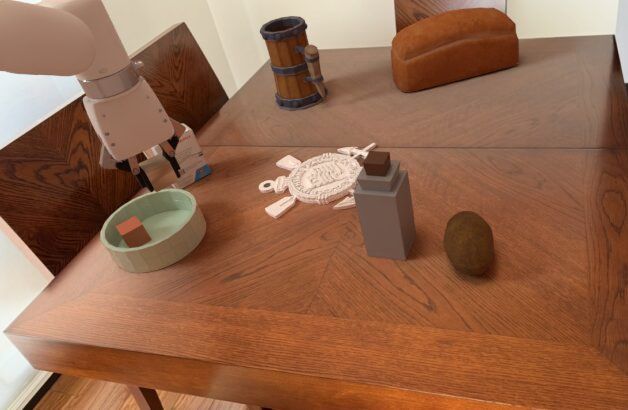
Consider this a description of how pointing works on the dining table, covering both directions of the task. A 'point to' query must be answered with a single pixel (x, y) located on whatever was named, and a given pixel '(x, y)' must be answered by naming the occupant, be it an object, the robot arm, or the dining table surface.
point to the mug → (293, 64)
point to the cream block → (159, 172)
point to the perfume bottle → (385, 207)
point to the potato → (469, 243)
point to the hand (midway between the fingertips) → (162, 180)
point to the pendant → (317, 180)
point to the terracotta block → (133, 232)
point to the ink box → (188, 159)
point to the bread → (453, 48)
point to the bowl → (156, 230)
